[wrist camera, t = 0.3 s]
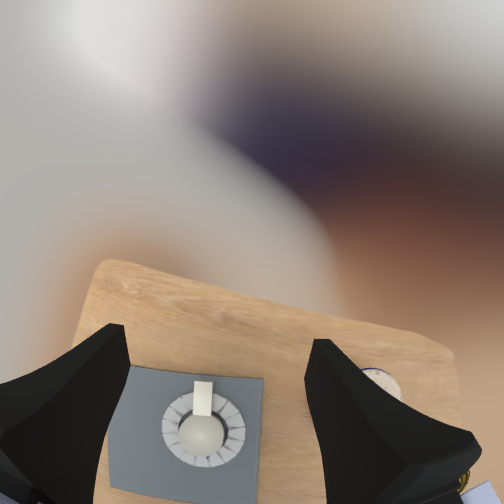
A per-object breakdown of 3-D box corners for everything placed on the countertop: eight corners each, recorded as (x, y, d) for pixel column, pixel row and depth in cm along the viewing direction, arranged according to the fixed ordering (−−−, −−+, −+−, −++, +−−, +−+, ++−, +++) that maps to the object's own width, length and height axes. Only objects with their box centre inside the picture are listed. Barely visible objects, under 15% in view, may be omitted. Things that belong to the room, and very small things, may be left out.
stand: (255, 503, 30) (256, 512, 27) (112, 484, 29) (105, 491, 26) (262, 378, 36) (264, 379, 33) (113, 362, 35) (104, 362, 33)
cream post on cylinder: (223, 446, 32) (222, 458, 27) (184, 443, 32) (177, 453, 27) (226, 380, 35) (226, 383, 30) (186, 377, 35) (180, 379, 30)
